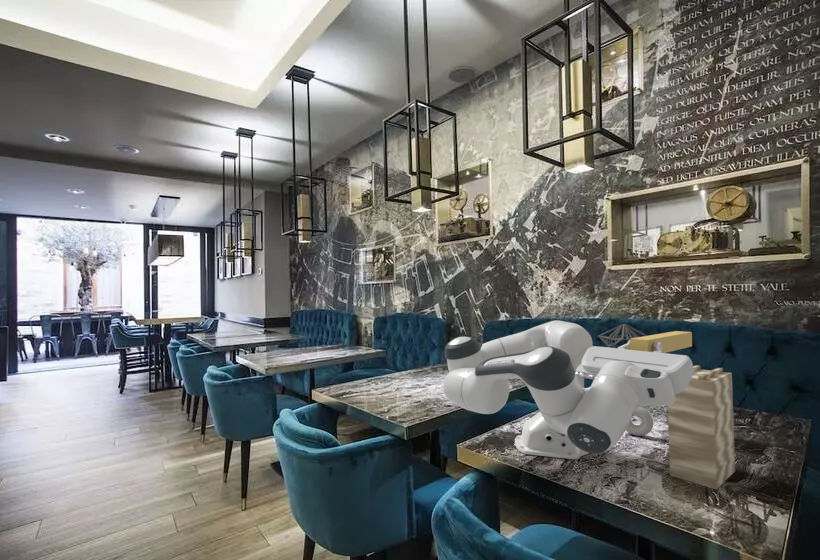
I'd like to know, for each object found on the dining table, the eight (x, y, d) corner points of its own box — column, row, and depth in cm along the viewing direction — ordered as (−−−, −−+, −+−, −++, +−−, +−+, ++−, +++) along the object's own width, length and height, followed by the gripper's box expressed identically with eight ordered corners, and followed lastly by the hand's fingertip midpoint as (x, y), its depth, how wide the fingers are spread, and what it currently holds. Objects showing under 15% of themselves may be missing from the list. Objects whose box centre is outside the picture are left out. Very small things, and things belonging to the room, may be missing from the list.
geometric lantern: (596, 407, 169) (594, 323, 171) (625, 404, 174) (624, 322, 176) (626, 417, 154) (624, 325, 156) (658, 414, 159) (655, 324, 161)
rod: (647, 357, 84) (647, 340, 84) (630, 355, 87) (629, 338, 87) (692, 346, 100) (691, 332, 100) (676, 344, 103) (675, 331, 103)
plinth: (716, 489, 98) (712, 377, 99) (669, 475, 106) (666, 371, 107) (735, 471, 108) (731, 369, 109) (691, 459, 116) (688, 364, 117)
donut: (618, 433, 137) (618, 404, 137) (621, 431, 140) (620, 401, 140) (653, 440, 131) (652, 409, 131) (654, 437, 133) (653, 406, 134)
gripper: (576, 387, 89) (602, 350, 97) (682, 407, 73) (704, 361, 81) (568, 363, 87) (595, 328, 95) (675, 379, 71) (697, 335, 79)
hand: (646, 343), depth 88 cm, fingers closed on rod, 3 cm apart
